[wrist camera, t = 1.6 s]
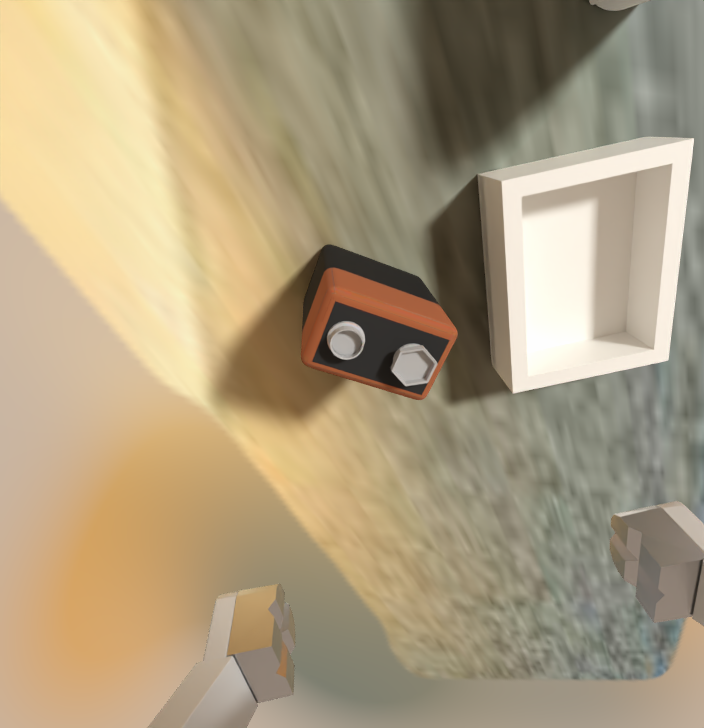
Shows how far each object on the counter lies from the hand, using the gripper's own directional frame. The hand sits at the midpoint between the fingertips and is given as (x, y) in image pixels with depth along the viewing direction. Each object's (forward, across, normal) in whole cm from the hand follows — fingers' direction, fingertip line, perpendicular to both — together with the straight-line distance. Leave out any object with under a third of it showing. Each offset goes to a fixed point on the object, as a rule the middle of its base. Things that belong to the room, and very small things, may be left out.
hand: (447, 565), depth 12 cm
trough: (+22, -13, +1) cm, 25 cm away
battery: (+22, 0, 0) cm, 22 cm away
